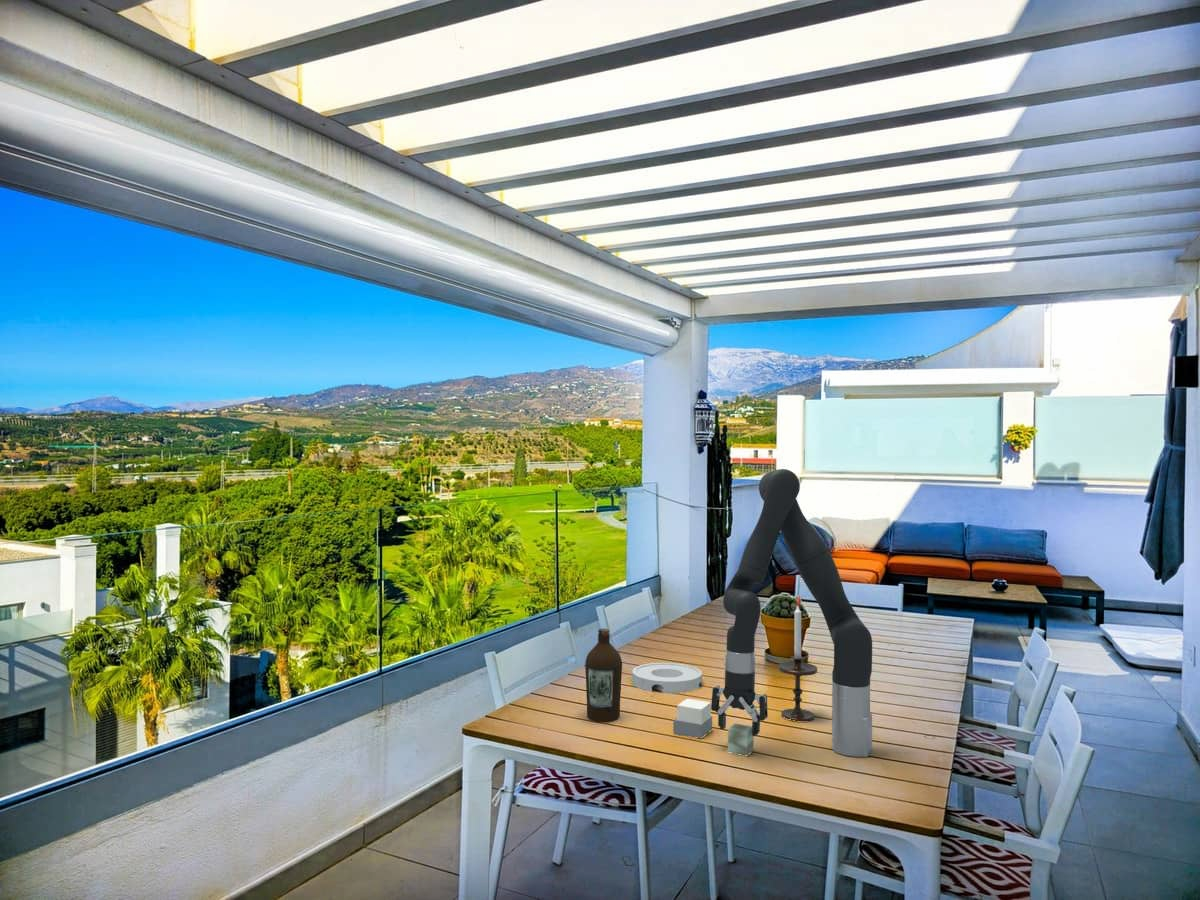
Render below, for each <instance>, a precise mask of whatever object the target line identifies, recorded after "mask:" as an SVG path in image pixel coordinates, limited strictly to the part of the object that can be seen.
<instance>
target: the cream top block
mask: <svg viewBox="0 0 1200 900" xmlns="http://www.w3.org/2000/svg"><path fill="white" fill-rule="evenodd" d="M711 703H712V701H711V702H710V701H705V700H698V699H693V698H686V699H684V700H683V701H681V702H680V703H678V704H677V705H676V712H677V713H676V718H677V720H678V721H684V722H690V723H695V724H701V725H702V724H703V723H704V722H705V721H707V720H708V719H709V718H710V717H711V716H712V710H711Z"/></svg>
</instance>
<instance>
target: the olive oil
mask: <svg viewBox="0 0 1200 900" xmlns="http://www.w3.org/2000/svg"><path fill="white" fill-rule="evenodd" d="M597 631H598V634H597V643H596V644H595V645H594V647H592V649H591V650H590V651H589V652H588V653H587V654H586V658H585V663H584V664H585V665H584V666H585V667H584V670H585V688H586V690H585V691H586V693H585V694H586V718H587V719H589V720H590V721H593V722H598V723H609V722H615V721H617V720H618V719H620V715H621V694H622V693H621V692H622V676H623V675H622V673H623V660H622V656H621V654H620V653H619V651H618V650H617V649H616V648H615V647H614V645H612V643H610V639H611V638H610V637H611V635H610V629H609V628H599V629H598V630H597Z"/></svg>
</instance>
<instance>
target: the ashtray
mask: <svg viewBox="0 0 1200 900" xmlns="http://www.w3.org/2000/svg"><path fill="white" fill-rule="evenodd" d="M631 682H632V685H633V686H634V687H636V688H637V689H640V690H642V691H647V692H650V693H651V692H652V691H653V689H656V690H658V691H660V692H661V693H663V694H681V693H680V692H684V693H688V692H687V691H690V692H693V691H692V690H694V689H697V688H699V689H700V686H701V685H702V686H703V672H702V670H701V669H699V668H698V667H695V666H693V665H689V664H688V665H687V664H685V663H684V664H683V663H677V662H676V663H675V662H674V663H673V662H654V663H653V662H652V663H645V664H641V665H637V666H636V667H633V668H632V670H631ZM699 684H700V685H699ZM697 690H698V689H697ZM694 691H695V690H694Z"/></svg>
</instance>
